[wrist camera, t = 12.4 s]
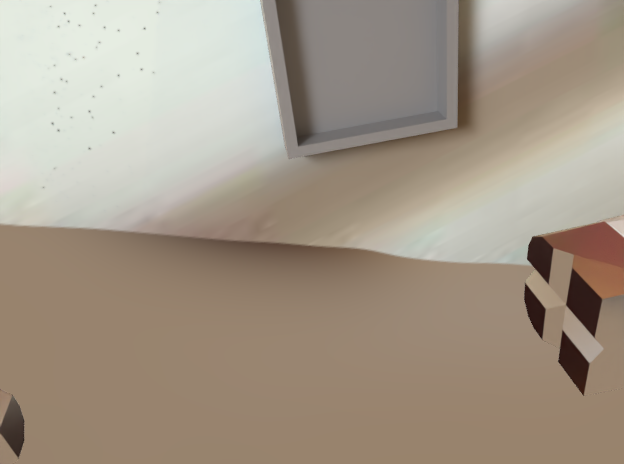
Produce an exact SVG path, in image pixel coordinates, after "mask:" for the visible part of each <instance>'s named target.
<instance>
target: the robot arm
mask: <svg viewBox="0 0 624 464" xmlns="http://www.w3.org/2000/svg"><path fill="white" fill-rule="evenodd" d="M527 260H528V261H529V262H530V263H531V265H532V266H533V267H534V268H535V270H534V271H533V273H532V274H531V275H530V276H529V278H528V279H527V280H526V281H525V291H524V300H525V305H526V309H527V314H528V317H529V319H530V321H531V323H532V325H533V328H534V329H535V330H536V332H537V333H538V335H539V336H540V338H541V339H542V340H543V341H545V342H547V343H549V344H551V345H553V346H555V347H558V348H559V349H560V352H559V360H558V362H559V364H560V365H561V366H562V368H563V369H564V370H565V372H566V373H567V374H568V376H569V377H570V379H571V380H572V381H573V383H574V384H575V385H576V387H577V388H578V389H579V391H580V392H581V393H582V395H583V396H587V395H592V394H597V393H602V392H606V391H612V390H617V389H622V388H624V215H622V216H617V217H613V218H609V219H605V220H601V221H597V222H596V223H592V224H588V225H583V226H578V227H574V228H569V229H565V230H560V231H556V232H551V233H547V234H542V235H538V236H533V237H532V239H531V241H530V243H529V245H528V254H527ZM23 443H24V418H23V415H22V412H21V408H20V406H19V404H18V403H17V401H16V400H15V398H14V396H13V395H12V394H10V393H7V392H5V391H3V390H1V389H0V464H14V463H15V462H16V461H17V460H18V459H19V456H20V453H21V450H22V446H23Z"/></svg>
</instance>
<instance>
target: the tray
mask: <svg viewBox="0 0 624 464" xmlns="http://www.w3.org/2000/svg"><path fill="white" fill-rule="evenodd" d="M260 2H261V8H262V14H263V20H264V25H265V31H266V37H267V43H268V49H269V55H270V61H271V67H272V73H273V78H274V84H275V90H276V96H277V102H278V108H279V114H280V120H281V126H282V131H283V137H284V143H285V148H286V151H287V155H288V158H289V159H292V158H297V157H302V156H308V155H313V154H319V153H324V152H329V151H335V150H340V149H345V148H351V147H356V146H362V145H367V144H372V143H378V142H383V141H388V140H394V139H399V138H405V137H410V136H415V135H421V134H426V133H431V132H437V131H442V130H448V129H453V128H457V117H458V11H459V0H260Z"/></svg>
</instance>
